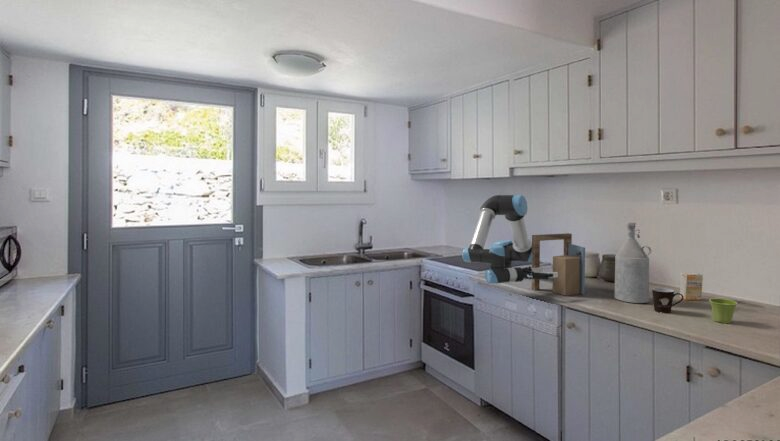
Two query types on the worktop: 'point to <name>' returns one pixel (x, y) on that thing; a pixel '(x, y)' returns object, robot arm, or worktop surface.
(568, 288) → the wooden block
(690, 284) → the supplement box
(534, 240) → the door frame
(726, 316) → the plant pot
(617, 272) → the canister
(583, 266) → the door
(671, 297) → the coffee mug
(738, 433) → the worktop surface
